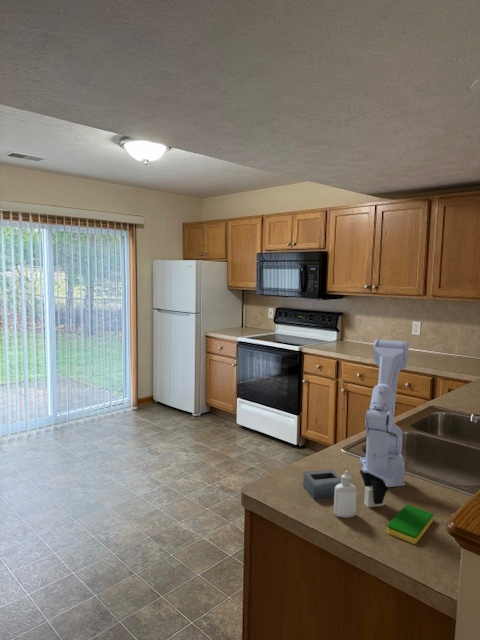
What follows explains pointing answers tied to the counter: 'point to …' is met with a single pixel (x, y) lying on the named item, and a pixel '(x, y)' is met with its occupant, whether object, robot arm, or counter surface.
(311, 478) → the slot box
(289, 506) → the counter surface
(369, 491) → the block
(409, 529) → the dish sponge
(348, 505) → the eye dropper bottle
